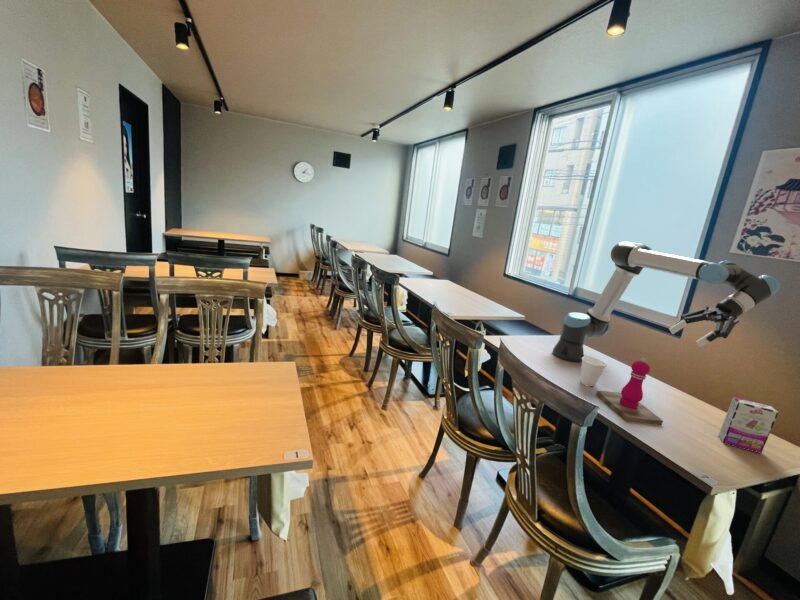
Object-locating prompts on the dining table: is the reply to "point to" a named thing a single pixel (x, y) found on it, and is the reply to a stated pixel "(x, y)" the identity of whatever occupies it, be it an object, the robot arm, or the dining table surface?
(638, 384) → the pepper mill
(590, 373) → the cup
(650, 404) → the dining table surface
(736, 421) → the candy bar box
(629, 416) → the serving board
